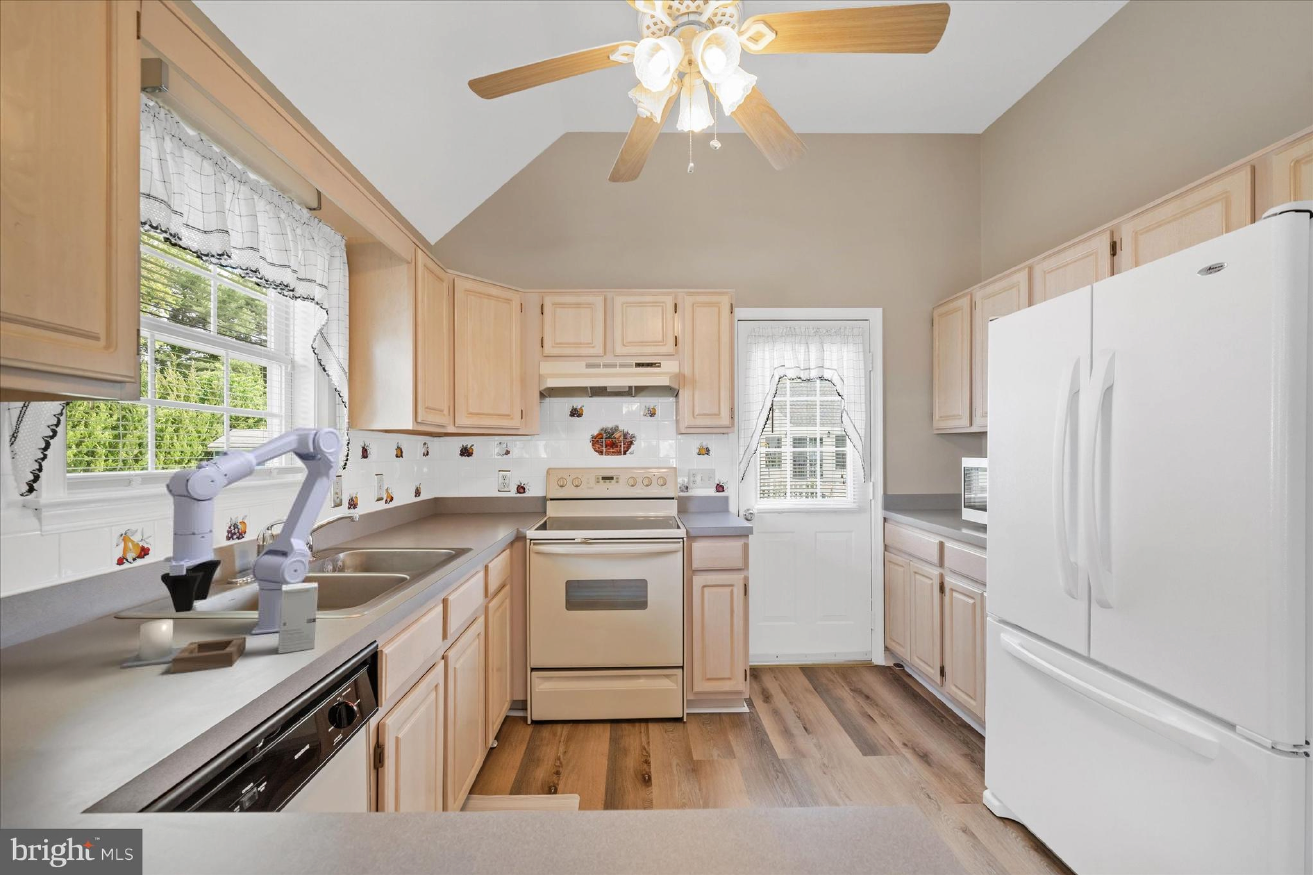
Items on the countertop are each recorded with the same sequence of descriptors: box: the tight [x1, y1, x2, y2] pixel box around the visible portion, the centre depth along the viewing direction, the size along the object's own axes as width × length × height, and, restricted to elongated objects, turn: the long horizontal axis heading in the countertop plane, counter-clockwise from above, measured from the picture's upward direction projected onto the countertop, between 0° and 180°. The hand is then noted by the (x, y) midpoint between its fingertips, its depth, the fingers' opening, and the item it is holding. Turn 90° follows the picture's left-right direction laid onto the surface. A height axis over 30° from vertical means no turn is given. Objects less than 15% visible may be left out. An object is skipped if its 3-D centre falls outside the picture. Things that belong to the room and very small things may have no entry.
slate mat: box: [120, 646, 186, 669], centre depth 99 cm, size 7×7×1 cm
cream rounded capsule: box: [139, 618, 174, 661], centre depth 99 cm, size 4×4×6 cm
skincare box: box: [277, 581, 319, 655], centre depth 105 cm, size 6×4×12 cm
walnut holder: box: [171, 636, 247, 675], centre depth 98 cm, size 8×8×2 cm
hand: (191, 605), depth 101 cm, fingers open, 7 cm apart
